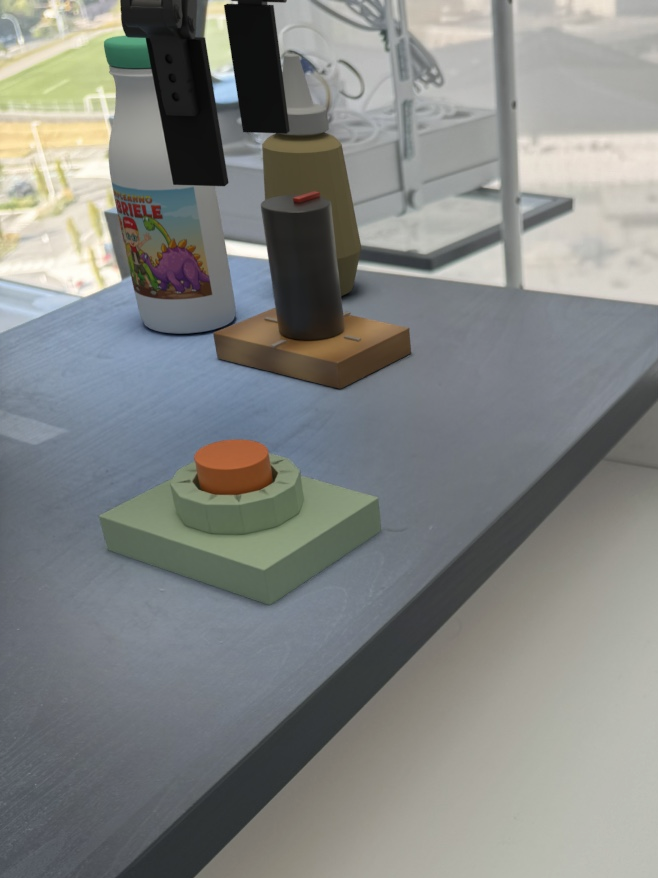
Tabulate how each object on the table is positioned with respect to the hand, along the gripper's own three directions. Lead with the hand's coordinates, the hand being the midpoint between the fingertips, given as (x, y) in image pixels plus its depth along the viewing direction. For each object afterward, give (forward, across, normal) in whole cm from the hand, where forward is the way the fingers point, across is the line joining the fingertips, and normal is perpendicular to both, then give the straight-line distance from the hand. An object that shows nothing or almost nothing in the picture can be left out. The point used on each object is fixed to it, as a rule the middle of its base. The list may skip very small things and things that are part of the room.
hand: (236, 156), depth 66 cm
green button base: (+18, -12, -1) cm, 22 cm away
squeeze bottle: (+18, +34, +5) cm, 39 cm away
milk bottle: (+18, +25, +14) cm, 34 cm away
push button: (+14, -12, -1) cm, 19 cm away
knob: (+16, +18, +2) cm, 24 cm away
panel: (+18, +18, +2) cm, 25 cm away
